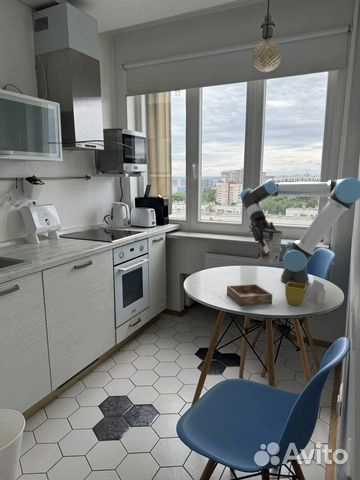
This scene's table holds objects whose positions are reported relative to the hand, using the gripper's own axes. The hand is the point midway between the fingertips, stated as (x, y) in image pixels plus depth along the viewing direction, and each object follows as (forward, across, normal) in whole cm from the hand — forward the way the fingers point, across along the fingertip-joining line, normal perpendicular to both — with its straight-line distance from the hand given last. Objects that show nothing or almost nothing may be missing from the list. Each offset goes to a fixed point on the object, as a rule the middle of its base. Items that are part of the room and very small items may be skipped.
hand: (273, 251), depth 161 cm
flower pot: (+26, -3, -6) cm, 27 cm away
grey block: (+27, -15, -5) cm, 31 cm away
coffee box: (+2, 0, -7) cm, 7 cm away
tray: (+17, +14, -15) cm, 27 cm away
